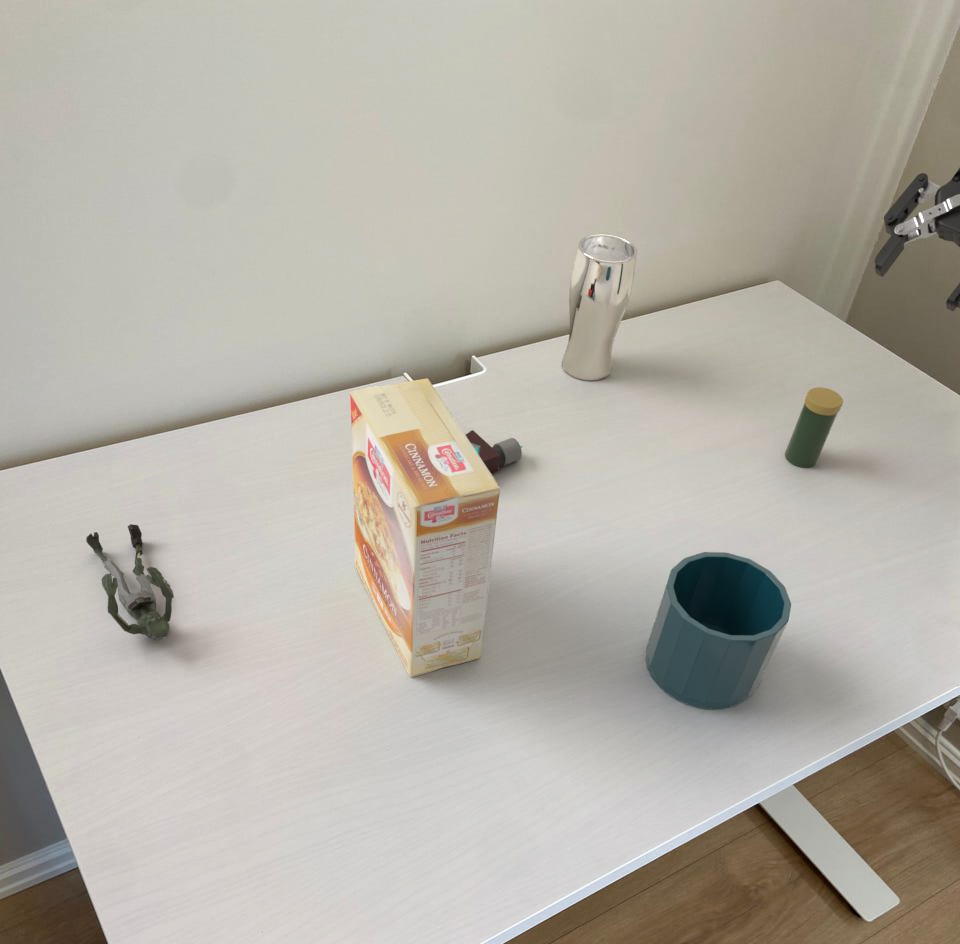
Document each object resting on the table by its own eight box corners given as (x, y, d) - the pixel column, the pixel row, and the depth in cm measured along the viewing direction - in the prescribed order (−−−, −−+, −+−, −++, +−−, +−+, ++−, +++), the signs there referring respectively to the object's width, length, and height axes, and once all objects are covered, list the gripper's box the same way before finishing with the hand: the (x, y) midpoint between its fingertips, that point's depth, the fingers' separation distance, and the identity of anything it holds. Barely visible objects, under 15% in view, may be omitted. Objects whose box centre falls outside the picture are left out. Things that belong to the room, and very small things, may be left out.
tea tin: (819, 452, 109) (844, 392, 103) (815, 472, 107) (841, 411, 101) (786, 443, 110) (809, 383, 104) (781, 462, 107) (805, 402, 101)
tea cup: (765, 641, 89) (797, 572, 82) (749, 724, 82) (782, 655, 75) (658, 609, 90) (680, 539, 84) (634, 688, 84) (656, 618, 77)
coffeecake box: (352, 565, 91) (346, 388, 77) (422, 548, 93) (430, 374, 79) (407, 680, 82) (413, 506, 68) (483, 659, 85) (504, 486, 70)
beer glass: (624, 364, 118) (649, 246, 107) (598, 390, 114) (621, 269, 103) (574, 344, 120) (594, 226, 109) (547, 368, 116) (565, 248, 105)
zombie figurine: (131, 484, 86) (179, 597, 78) (143, 540, 91) (189, 652, 83) (69, 498, 84) (111, 615, 76) (84, 555, 89) (126, 670, 81)
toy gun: (531, 463, 104) (536, 426, 100) (438, 500, 98) (441, 462, 95) (479, 416, 109) (482, 379, 105) (388, 449, 103) (388, 411, 100)
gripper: (953, 106, 98) (851, 244, 101) (1087, 156, 92) (974, 302, 95) (955, 148, 105) (859, 277, 108) (1080, 198, 98) (974, 334, 101)
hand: (913, 289), depth 101 cm, fingers open, 8 cm apart
